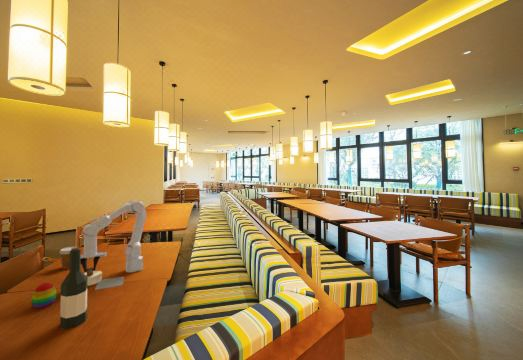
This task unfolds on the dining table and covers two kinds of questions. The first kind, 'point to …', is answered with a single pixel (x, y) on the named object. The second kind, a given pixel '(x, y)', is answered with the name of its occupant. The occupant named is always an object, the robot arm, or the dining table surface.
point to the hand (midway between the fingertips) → (90, 271)
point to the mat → (110, 283)
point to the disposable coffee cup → (65, 257)
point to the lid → (92, 274)
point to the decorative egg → (44, 295)
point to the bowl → (94, 281)
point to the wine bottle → (74, 294)
